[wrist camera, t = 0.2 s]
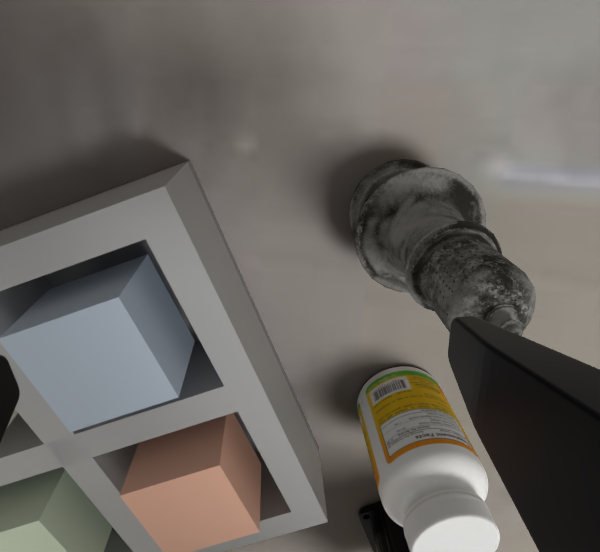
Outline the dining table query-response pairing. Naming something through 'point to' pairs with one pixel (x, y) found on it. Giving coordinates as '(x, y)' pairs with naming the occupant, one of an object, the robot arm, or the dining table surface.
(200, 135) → the dining table surface
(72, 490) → the key sage
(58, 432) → the keypad
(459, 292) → the grey chess piece
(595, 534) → the robot arm
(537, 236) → the dining table surface
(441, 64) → the dining table surface
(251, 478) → the key terracotta
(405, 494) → the supplement bottle
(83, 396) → the key slate
